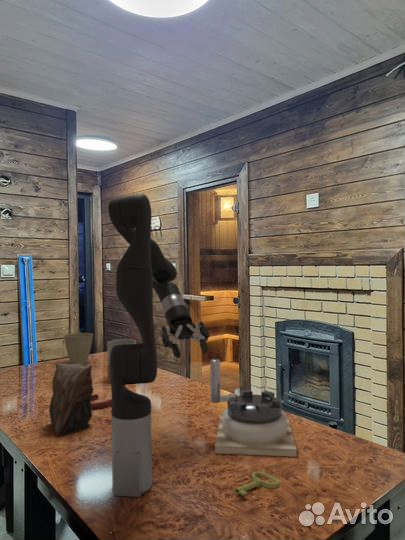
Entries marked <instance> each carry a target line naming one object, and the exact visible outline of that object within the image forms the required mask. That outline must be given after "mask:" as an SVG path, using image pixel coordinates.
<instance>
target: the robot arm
mask: <svg viewBox="0 0 405 540" xmlns="http://www.w3.org/2000/svg"><path fill="white" fill-rule="evenodd" d="M151 206H152V205H151V203H150V199H149V198H148V196H147V195H146V194H144V193H135V194H129V195H124V196H120V197H119V196H118V197H115V198H113V199H111V200H109V204H108V208H107V210H108V216H109V219H110V222H111V224H112V225H113V227H114V229H115V230H116V231H117V232H118V233H119V235H120V236H121V237H122V238H123V239H124V240H125V241H126V242H127V243H128V244H129V246H128V247H127V248H126V251H125V252H124V254H123V255H122V257H121V259H120V261H119V262H118V264H117V266H116V272H115V292H116V293H115V294H116V295H117V298H118V300H119V302H120V303H121V305H122V307H123V308H124V309H125V311H126V312H127V314H128V315H129V316H130V318H131V319H132V321H133V322H134V324H135V326H136V328H137V329H138V332H139V334H140V337H141V341H142V342H141V343H136V344H127V345H126V344H122V345H115V346H113V348H112V349H111V353H110V375H111V382H110V385H111V399H112V406H111V476H112V477H111V479H112V480H111V481H112V483H111V484H112V485H111V487H112V491H113V496H114V497H115V496H116V497H131V498H132V497H133V498H140V497H141V496H142V495H143V494H145V493H147V492H148V491H149V490H150V489H151V488H152V486H153V456H152V455H153V454H152V453H153V446H152V445H153V444H152V443H153V441H152V438H153V437H152V430H153V429H152V401H151V398H149V397H148V396H146V395H143V394H141V393H137V392H134V391H132V390H130V389H129V388H128V387H127V386H126V385H141V384H150V383H151V384H152V383H153V382H155V380H156V379H157V375H158V358H157V357H158V356H157V345H156V344H157V343H156V336H155V325H154V324H155V323H154V304H153V303H154V302H153V301H154V299H153V297H154V293H153V291H155V293H156V294H157V297H158V299H159V302H160V305H161V308H162V313H163V315H164V318H165V320H166V323H167V325H168V327H166V326H165V325H164V326H163V325H162V327H161V330H160V336H161V340H162V343H163V347H164V348H170V349H171V350H172V354H173V356H174V357H175V358H176V359H181V355H182V353H181V350H180V347H179V345H178V343H177V341H178V340H180V341H184V340H190V339H191V340H192V341H195V342H197V343H199V347H200V349H201V352H202V354H203V355H207V353H208V350H209V346H208V344H207V341H208V340H209V338H210V333H209V331H208V330H207V328H206V326H205V324H204V322H203V321H199V323H194V322H193V318H192V316H191V314H190V312H189V309H188V307H187V304H186V302H185V300H184V299H183V297H182V294H181V292H180V290H179V287H178V286H177V284H176V283H174V282H172V281H175V280H176V279H177V277H178V272H177V268H176V267H175V265H174V264H173V263H172V262H171V261H170V260H169V259H167V258H166V257H165V255H164V253H163V251H162V250H161V248H160V246H159V244H158V243H157V242H156V241H155V240H154V239H153V238H152V237H151V236H152V207H151ZM169 334H171V335H172V336H174V337H173V339H172V340H170V337H169Z"/></svg>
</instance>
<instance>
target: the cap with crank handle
mask: <svg viewBox="0 0 405 540" xmlns="http://www.w3.org/2000/svg"><path fill="white" fill-rule="evenodd" d="M209 363H210V364H209V365H210V369H209V371H210V372H209V373H210V402H211V403H212V404H217V403H224V402H225V403H227V408H228V415H229V416H230V417H231V418H232V419H234V420H237V421H240V422H245V423H254V424H260V423H269V422H273V421H276V420H278V419H279V418H280V417H281V415H282V412H281V410H282V404H283V400H282V399H283V398H282V397H275V392H272V391H268V390H264V391H261V394H253V390H251V389H250V388H249V389H240V391H239V392H240V393H239V394H240V395H237V393H236V394H235V393H228V394H224V395H223V394H222V395H221V360H220V359H217V358H213V359H210V361H209Z"/></svg>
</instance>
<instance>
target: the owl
mask: <svg viewBox="0 0 405 540" xmlns="http://www.w3.org/2000/svg"><path fill="white" fill-rule="evenodd" d="M92 368H93V367H92V365H87V364H86V365H84V364H83V363H78V364H71V363H70V364H69V363H68V364H67V363H63V362H57V363H56V364H55V372H54V374H53V377H52V380H51V381H52V388H51V389H52V395H51V397H50V404H49V410H48V412H49V413H48V414H49V417H50V422H51V429H52V430H53V434H54V435H55V437H56V438H59V437H61V436H65V435H69V434H71V433H75V432H78V431H80V430H84V429H88V428H89V427H90V426H91V425H90V424H89V422H90V420H91V418H92V417H93V413H92V410H91V404H92V403H91V402H90V400H91V396H92V395H93V393H94V388H93V379H92V378H93V377H92Z"/></svg>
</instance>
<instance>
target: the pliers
mask: <svg viewBox="0 0 405 540" xmlns="http://www.w3.org/2000/svg"><path fill="white" fill-rule="evenodd" d="M94 400H95V401H97V400H99V394H96V393H95V394H92V396H91V400H90V403H91V401H92V402H93V403H91V411H97V410H102V409H106V408H107V407H108V408H109V407H112V398H110V399H108V400H104V401H100V402H94ZM108 408H107V409H108Z"/></svg>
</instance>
